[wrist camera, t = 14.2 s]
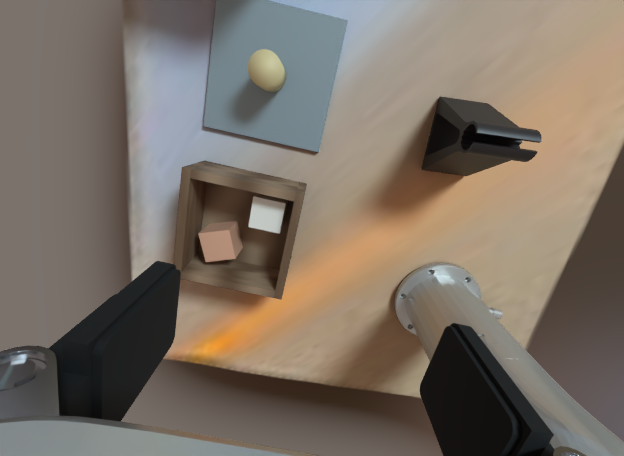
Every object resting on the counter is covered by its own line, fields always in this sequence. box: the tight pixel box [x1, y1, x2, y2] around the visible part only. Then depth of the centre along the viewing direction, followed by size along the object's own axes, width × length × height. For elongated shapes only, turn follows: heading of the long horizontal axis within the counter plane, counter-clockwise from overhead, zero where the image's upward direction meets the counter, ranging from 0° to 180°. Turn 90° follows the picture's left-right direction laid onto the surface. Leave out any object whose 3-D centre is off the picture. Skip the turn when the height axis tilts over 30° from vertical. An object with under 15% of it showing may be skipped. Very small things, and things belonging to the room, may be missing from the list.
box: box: [174, 161, 307, 299], centre depth 40 cm, size 14×14×7 cm
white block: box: [248, 193, 288, 234], centre depth 40 cm, size 4×4×4 cm
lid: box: [203, 0, 348, 152], centre depth 35 cm, size 15×15×6 cm
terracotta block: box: [198, 221, 243, 262], centre depth 41 cm, size 4×4×4 cm
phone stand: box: [422, 97, 541, 176], centre depth 33 cm, size 9×6×12 cm, turn 172°
